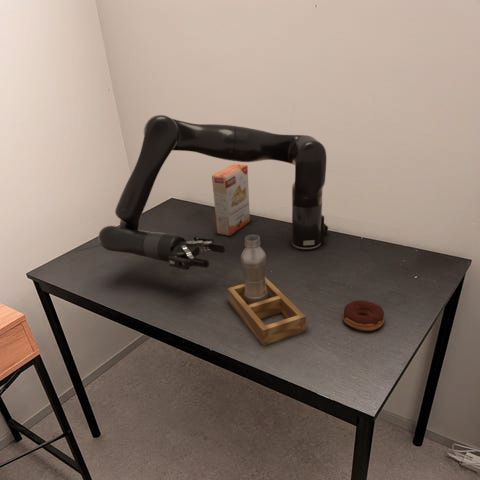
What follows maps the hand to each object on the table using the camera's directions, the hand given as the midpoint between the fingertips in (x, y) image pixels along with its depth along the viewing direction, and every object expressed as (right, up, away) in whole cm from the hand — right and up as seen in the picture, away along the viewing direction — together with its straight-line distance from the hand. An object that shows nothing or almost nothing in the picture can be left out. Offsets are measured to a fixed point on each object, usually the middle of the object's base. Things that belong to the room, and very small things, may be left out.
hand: (216, 256), depth 117 cm
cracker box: (+4, +16, +46) cm, 49 cm away
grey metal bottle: (+11, -13, +4) cm, 17 cm away
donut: (+37, -17, -5) cm, 41 cm away
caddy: (+13, -16, 0) cm, 20 cm away
